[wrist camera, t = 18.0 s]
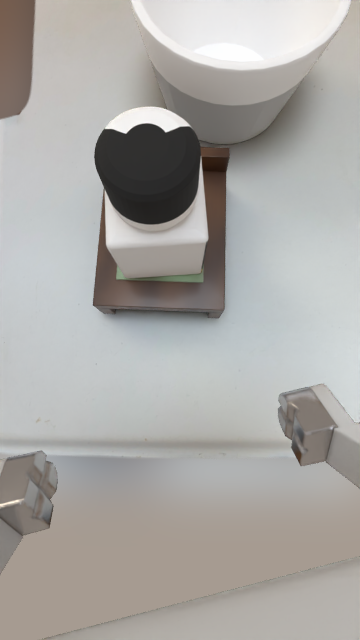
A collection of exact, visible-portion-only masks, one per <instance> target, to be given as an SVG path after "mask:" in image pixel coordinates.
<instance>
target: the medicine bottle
mask: <svg viewBox="0 0 360 640" xmlns="http://www.w3.org/2000/svg"><path fill="white" fill-rule="evenodd" d="M94 158H95V165H96V169H97V172H98V174H99V177H100V179H101V181H102V184H103V186H104V188H105V225H106V246H107V248H108V250H109V252H110V253H111V255H112V257H113V258H114V260H115V262H116V263H117V265H118V267H119V268H120V270H121V272H122V273H123V275H124V277H126V278H143V277H158V276H173V275H188V274H199V273H201V272H202V269H203V263H204V258H205V253H206V248H207V243H208V227H207V216H206V205H205V194H204V182H203V171H202V160H201V147H200V143H199V140H198V137H197V135H196V133H195V131H194V130H193V128H192V127H191V126H190V125H189V124H188V123H187V122H186V121H185V120H184V119H183V118H181V117H180V116H178V115H177V114H175V113H173V112H171V111H169V110H166V109H163V108H158V107H139V108H134V109H130V110H128V111H125V112H123V113H121V114H120V115H118V116H117V117H115V118H114V119H113V120H112V121H111V122H110V123H109V124H108V125H107V126H106V127H105V129H104V130H103V131H102V133H101V134H100V136H99V138H98V141H97V143H96V147H95V156H94Z"/></svg>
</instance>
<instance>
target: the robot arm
mask: <svg viewBox="0 0 360 640" xmlns="http://www.w3.org/2000/svg"><path fill="white" fill-rule="evenodd" d="M278 401H279V403H280V405H281V406H280V407H279V408H278V418H279V423H280V425H281V428H282V430H283V432H284V434H285V436H286V437H288V438H289V439H291V440H292V446H291V448H292V450H293V452H294V454H295V456H296V458H297V459H298V461H299V463H300V465H301V466H305V465H309V464H314V463H319V462H324V461H326V463H328V464H329V465H330V466H331V467H333V468H334V469H335V470H337V471H338V472H339V473H341V474H342V475H343V476H345V478H347V479H348V480H349V481H351V482H352V483H353V484H354V485H356V486H357V487H358V488H360V422H359V423H355V422H354V421H353V420H352V418H351V417H350V416H349V414H348V413H347V412H346V411H345V409H344V408H343V407H342V405H341V404H340V403H339V402H338V400H337V399H336V398H335V396H334V395H333V394H332V392H331V391H330V390H329V389H328V387H327V386H326V385H324V384H318V385H315V386H311V387H305V388H301V389H297V390H293V391H289V392H285V393H281V394H280V395H279V399H278ZM46 456H47V455H46V454H45V453H44V452H43V451H42V450H41V451H37V452H32V453H27V454H23V455H18V456H14V457H9V458H4V459H0V574H1V572H2V571H3V569H4V568H5V566H6V564H7V563H8V561H9V559H10V557H11V556H12V555H13V553H14V551H15V550H16V548H17V546H18V545H19V543H20V542H21V540H22V538H23V535H27V534H30V533H34V532H38V531H41V530H45V529H48V528H50V522H51V517H52V511H53V504H52V502H51V500H50V499H51V498H52V496H53V495H54V493H55V492H56V489H57V483H58V479H57V471H56V468H55V466H54V465H53V463H51V462H48V461H46ZM40 640H360V556H359V557H355V558H351V559H348V560H343V561H340V562H336V563H332V564H328V565H325V566H320V567H316V568H313V569H309V570H305V571H301V572H298V573H293V574H290V575H286V576H282V577H278V578H274V579H270V580H267V581H263V582H259V583H255V584H251V585H248V586H244V587H240V588H236V589H232V590H229V591H225V592H221V593H217V594H213V595H209V596H205V597H201V598H197V599H194V600H190V601H186V602H182V603H178V604H175V605H171V606H167V607H163V608H159V609H156V610H151V611H148V612H144V613H140V614H136V615H133V616H128V617H125V618H121V619H117V620H113V621H109V622H106V623H102V624H98V625H94V626H90V627H87V628H83V629H79V630H75V631H71V632H67V633H63V634H59V635H56V636H52V637H48V638H44V639H40Z"/></svg>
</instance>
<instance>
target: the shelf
mask: <svg viewBox="0 0 360 640" xmlns="http://www.w3.org/2000/svg"><path fill="white" fill-rule="evenodd" d="M229 156H230V149H229V148H213V147H201V160H202V171H203V182H204V194H205V205H206V216H207V227H208V243H207V248H206V253H205V258H204V263H203V269H202V272H201V273H199V274H188V275H173V276H158V277H143V278H126V277H124V275H123V273H122V272H121V270H120V268H119V267H118V265H117V263H116V262H115V260H114V258H113V257H112V255H111V253H110V252H109V250H108V248H107V246H106V225H105V188H104V192H103V203H102V213H101V224H100V234H99V245H98V256H97V266H96V277H95V288H94V298H93V306H95V307H96V308H97V309H99V310H100V311H101V312H103V313H104V314H115V311H116V309H135V310H162V311H188V312H208V318H219V317H220V315H221V314H222V313H223V311H224V297H225V226H226V171H227V166H228V162H229Z"/></svg>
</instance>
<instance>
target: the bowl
mask: <svg viewBox="0 0 360 640" xmlns="http://www.w3.org/2000/svg"><path fill="white" fill-rule="evenodd" d="M351 1H352V0H130V3H131V6H132V10H133V13H134V16H135V19H136V22H137V24H138V27H139V30H140V33H141V36H142V39H143V42H144V44H145V47H146V50H147V53H148V56H149V58H150V60H151V63H152V66H153V69H154V72H155V75H156V78H157V81H158V84H159V86H160V89H161V92H162V95H163V98H164V101H165V104H166V107H167V109H168V110H169V111H171V112H173V113H175V114H177V115H178V116H180V117H181V118H183V119H184V120H185V121H186V122H187V123H188V124H189V125H190V126H191V127H192V128H193V130H194V131H195V133H196V135H197V137H198V139H199V140H202V141H206V142H209V143H216V144H234V143H239V142H243V141H246V140H249V139H251V138H253V137H255V136H257V135H258V134H260V133H261V132H263V131H264V130H266V128H267V127H268V126H269V125H270V124H271V123H272V122H273V121H274V119H275V118H276V117H277V115H278V114H279V112H280V111H281V110H282V108H283V107H284V105H285V104H286V103H287V101H288V100H289V98H290V97H291V96H292V94H293V93H294V91H295V90H296V89H297V87H298V86H299V84H300V83H301V82H302V80H303V79H304V77H305V76H306V75H307V74H308V72H309V71H310V70H311V68H312V67H313V66H314V64H315V63H316V61H317V60H318V59H319V57H320V56H321V54H322V53H323V52H324V50H325V49H326V47H327V46H328V45H329V43H330V42H331V40H332V39H333V38H334V36H335V35H336V33H337V32H338V30H339V29H340V27H341V25H342V24H343V22H344V20H345V19H346V17H347V15H348V11H349V8H350V4H351Z"/></svg>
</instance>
